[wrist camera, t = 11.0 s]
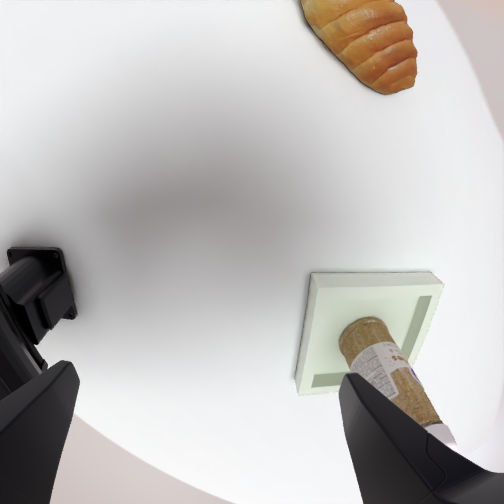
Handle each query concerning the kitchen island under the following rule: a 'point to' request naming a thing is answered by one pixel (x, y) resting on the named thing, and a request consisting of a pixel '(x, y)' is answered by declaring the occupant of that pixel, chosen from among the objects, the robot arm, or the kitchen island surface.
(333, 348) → the tray
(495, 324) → the kitchen island surface
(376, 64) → the pastry
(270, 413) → the kitchen island surface
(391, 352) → the sprinkles bottle
